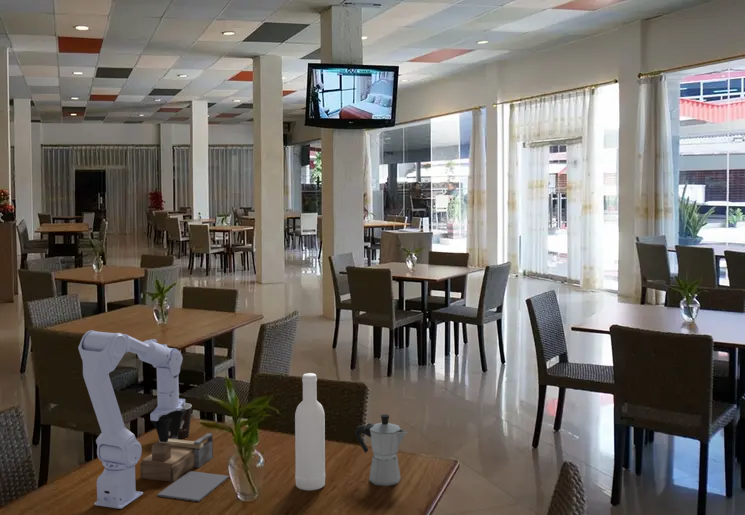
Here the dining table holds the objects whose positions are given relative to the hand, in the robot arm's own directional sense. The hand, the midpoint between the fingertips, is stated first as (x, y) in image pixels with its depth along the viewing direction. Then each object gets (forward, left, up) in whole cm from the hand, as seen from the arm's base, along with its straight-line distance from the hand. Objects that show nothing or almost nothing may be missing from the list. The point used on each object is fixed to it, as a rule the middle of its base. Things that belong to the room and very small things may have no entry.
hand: (169, 438), depth 202 cm
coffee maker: (+11, -58, -10) cm, 60 cm away
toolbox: (+3, 0, -9) cm, 10 cm away
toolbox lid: (0, 0, -5) cm, 5 cm away
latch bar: (+6, 0, -4) cm, 7 cm away
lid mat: (-8, -12, -9) cm, 17 cm away
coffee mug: (+24, +14, -10) cm, 30 cm away
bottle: (+2, -41, -10) cm, 42 cm away
